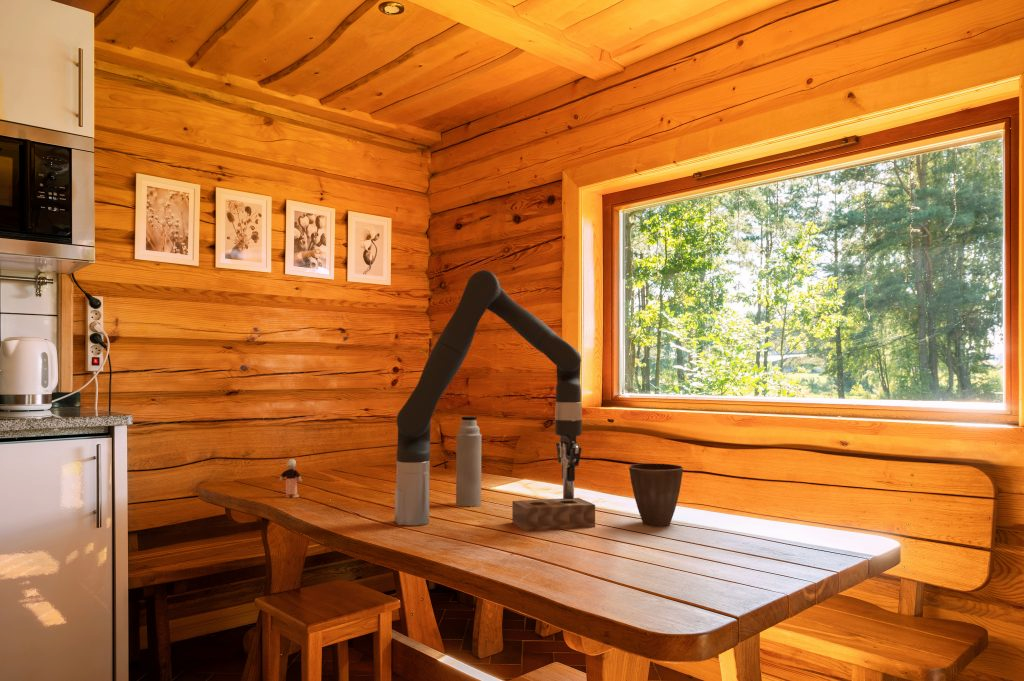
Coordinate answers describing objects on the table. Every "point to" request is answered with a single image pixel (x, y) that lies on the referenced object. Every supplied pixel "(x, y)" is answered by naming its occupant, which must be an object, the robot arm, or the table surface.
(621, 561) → the table surface
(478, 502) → the thermos bottle
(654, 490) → the plant pot
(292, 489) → the grandmother figurine
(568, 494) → the metal pin
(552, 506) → the walnut bore block
